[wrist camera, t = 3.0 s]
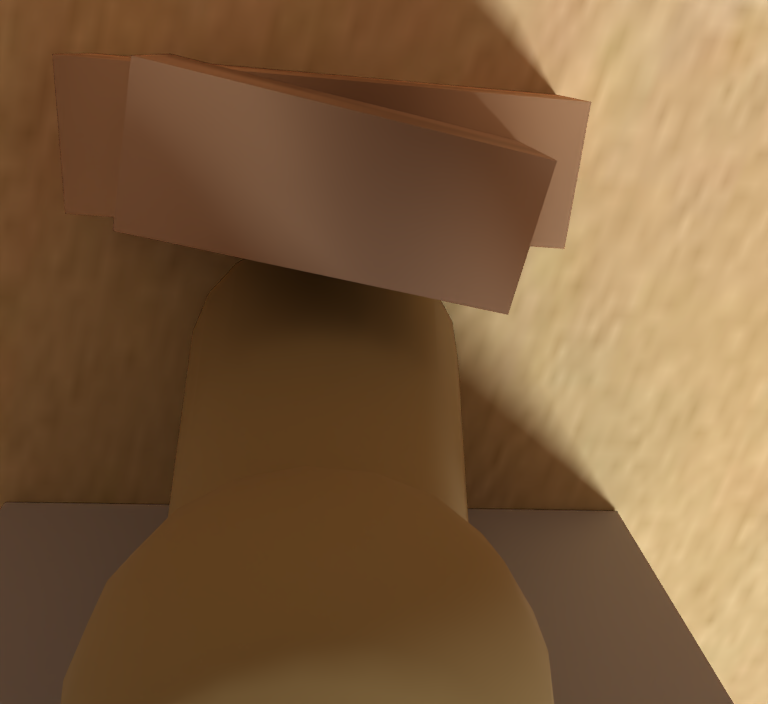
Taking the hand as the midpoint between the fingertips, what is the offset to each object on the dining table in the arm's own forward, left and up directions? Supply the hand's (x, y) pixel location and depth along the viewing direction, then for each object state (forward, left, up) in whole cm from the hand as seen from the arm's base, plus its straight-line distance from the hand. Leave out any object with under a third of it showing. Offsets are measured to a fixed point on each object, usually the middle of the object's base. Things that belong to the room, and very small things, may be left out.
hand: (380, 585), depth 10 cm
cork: (-1, +1, -7) cm, 7 cm away
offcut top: (0, +5, -5) cm, 7 cm away
